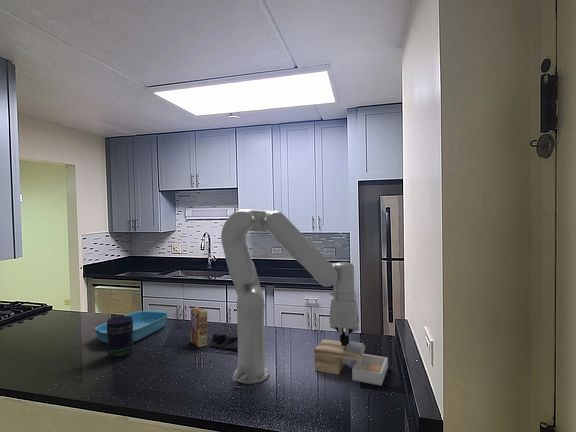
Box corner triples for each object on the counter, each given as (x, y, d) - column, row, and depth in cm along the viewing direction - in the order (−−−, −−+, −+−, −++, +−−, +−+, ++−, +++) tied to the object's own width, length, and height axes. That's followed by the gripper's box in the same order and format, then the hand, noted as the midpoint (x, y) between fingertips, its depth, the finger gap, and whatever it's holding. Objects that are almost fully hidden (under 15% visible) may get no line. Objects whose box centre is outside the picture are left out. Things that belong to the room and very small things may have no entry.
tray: (381, 385, 116) (381, 374, 116) (352, 380, 120) (352, 368, 120) (387, 368, 129) (387, 357, 129) (361, 363, 133) (360, 353, 133)
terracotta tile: (364, 369, 123) (364, 374, 123) (379, 371, 121) (379, 377, 121) (367, 363, 127) (367, 368, 127) (381, 366, 125) (381, 371, 125)
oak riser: (358, 379, 121) (358, 356, 121) (314, 370, 128) (314, 349, 127) (365, 366, 131) (365, 345, 131) (323, 358, 138) (323, 339, 137)
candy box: (208, 345, 153) (207, 311, 153) (199, 347, 150) (198, 312, 150) (199, 339, 160) (199, 306, 160) (190, 342, 157) (190, 308, 157)
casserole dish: (140, 320, 189) (140, 307, 189) (176, 323, 183) (175, 310, 183) (84, 346, 154) (83, 330, 154) (125, 351, 148) (125, 334, 148)
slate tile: (359, 353, 123) (359, 348, 123) (346, 351, 125) (346, 345, 125) (363, 348, 127) (363, 343, 127) (350, 346, 130) (350, 341, 130)
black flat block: (247, 356, 142) (247, 345, 142) (205, 347, 152) (205, 336, 152) (266, 343, 155) (266, 333, 155) (226, 336, 165) (226, 326, 165)
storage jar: (123, 361, 137) (122, 324, 137) (101, 359, 139) (100, 322, 139) (138, 351, 147) (138, 316, 147) (118, 349, 149) (117, 315, 149)
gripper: (321, 296, 128) (322, 345, 128) (362, 300, 122) (362, 351, 122) (327, 292, 135) (328, 338, 135) (366, 295, 129) (366, 344, 129)
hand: (344, 344), depth 128 cm, fingers closed
